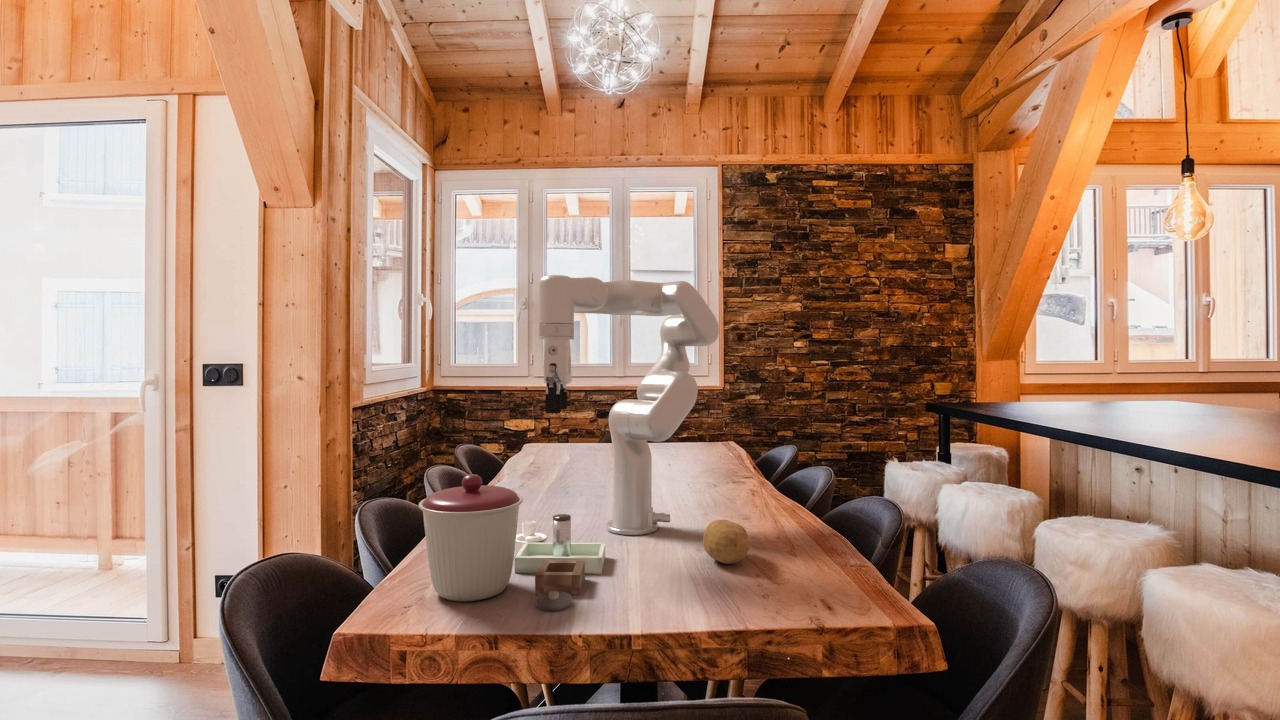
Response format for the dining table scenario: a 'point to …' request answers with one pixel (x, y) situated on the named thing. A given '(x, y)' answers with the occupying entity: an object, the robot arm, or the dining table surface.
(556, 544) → the dark capped bottle
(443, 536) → the canister
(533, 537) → the teacup and saucer
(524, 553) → the tray
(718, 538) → the potato
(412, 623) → the dining table surface
